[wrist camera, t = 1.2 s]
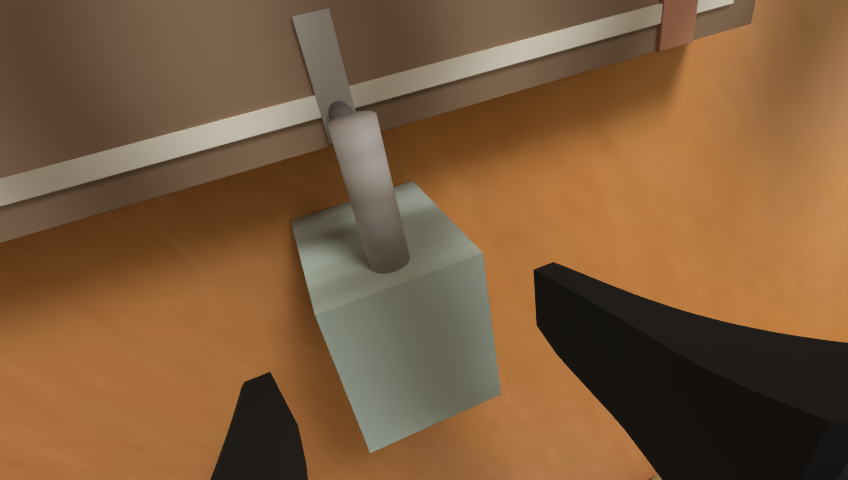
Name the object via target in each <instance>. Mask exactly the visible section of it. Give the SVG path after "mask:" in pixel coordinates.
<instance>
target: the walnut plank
mask: <svg viewBox="0 0 848 480" xmlns="http://www.w3.org/2000/svg"><path fill="white" fill-rule="evenodd" d="M754 5H755V0H0V243H1V242H5V241H8V240H12V239H15V238H18V237H22V236H25V235H29V234H32V233H35V232H39V231H42V230H46V229H49V228H53V227H56V226H59V225H63V224H66V223H70V222H73V221H77V220H80V219H83V218H87V217H90V216H94V215H97V214H100V213H104V212H107V211H111V210H114V209H118V208H121V207H124V206H128V205H131V204H135V203H138V202H141V201H145V200H148V199H152V198H155V197H159V196H162V195H165V194H169V193H172V192H176V191H179V190H183V189H186V188H189V187H193V186H196V185H200V184H203V183H206V182H210V181H213V180H217V179H220V178H224V177H227V176H230V175H234V174H237V173H241V172H244V171H248V170H251V169H254V168H258V167H261V166H265V165H268V164H271V163H275V162H278V161H282V160H285V159H289V158H292V157H295V156H299V155H302V154H306V153H309V152H312V151H316V150H319V149H323V148H326V147H330V146H333V142H332V139H331V135H330V132H329V129H328V123H329V122H330V121H331V119H330V117H329V114H328V110H329V107H330V105H331V104H332V103H334V102H336V101H342V102H344V103H346V104H347V105H348V106H349V107H350V108H351V109H352V110H353V111H354V112H359V111H372V112H375V113H376V114H377V119H378V123H379V127H380V131H384V130H388V129H391V128H395V127H398V126H401V125H405V124H408V123H412V122H415V121H418V120H422V119H425V118H429V117H432V116H436V115H439V114H442V113H446V112H449V111H453V110H456V109H460V108H463V107H466V106H470V105H473V104H477V103H480V102H483V101H487V100H490V99H494V98H497V97H501V96H504V95H507V94H511V93H514V92H518V91H521V90H524V89H528V88H531V87H535V86H538V85H542V84H545V83H548V82H552V81H555V80H559V79H562V78H566V77H569V76H572V75H576V74H579V73H583V72H586V71H589V70H593V69H596V68H600V67H603V66H607V65H610V64H613V63H617V62H620V61H624V60H627V59H631V58H634V57H637V56H641V55H644V54H648V53H651V52H654V51H659V52H660V51H663V50H667V49H670V48H674V47H677V46H680V45H684V44H687V43H691V42H693V40H695V39H699V38H702V37H706V36H709V35H713V34H716V33H719V32H723V31H726V30H730V29H733V28H737V27H740V26H743V25H747V24H750V23H751V20H752V15H753V10H754Z"/></svg>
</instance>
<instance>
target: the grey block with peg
mask: <svg viewBox="0 0 848 480" xmlns="http://www.w3.org/2000/svg"><path fill="white" fill-rule="evenodd" d="M328 114H329V117H330V119H331V121H330V122H329V123H328V129H329V132H330V135H331V139H332V142H333V146H334V149H335V152H336V156H337V159H338V162H339V166H340V169H341V173H342V176H343V179H344V183H345V186H346V190H347V193H348V196H349V200H350V201H349V202H346V203H342V204H339V205H336V206H333V207H330V208H327V209H324V210H321V211H318V212H314V213H311V214H308V215H305V216H302V217H299V218H296V219H293V220H290V221H291V225H292V228H293V232H294V236H295V240H296V244H297V248H298V252H299V256H300V260H301V263H302V267H303V271H304V275H305V279H306V283H307V287H308V291H309V294H310V298H311V302H312V306H313V310H314V314H315V317H316V319H317V322H318V324H319V327H320V329H321V332H322V334H323V337H324V339H325V342H326V344H327V347H328V349H329V352H330V354H331V357H332V359H333V362H334V364H335V367H336V369H337V372H338V374H339V377H340V379H341V382H342V384H343V387H344V389H345V391H346V394H347V396H348V399H349V401H350V404H351V406H352V409H353V411H354V414H355V416H356V419H357V421H358V424H359V426H360V429H361V431H362V434H363V436H364V439H365V441H366V444H367V446H368V449H369V451H370V453H372V452H374V451H376V450H378V449H381V448H383V447H385V446H387V445H390V444H392V443H394V442H396V441H398V440H401V439H403V438H405V437H407V436H410V435H412V434H414V433H416V432H418V431H421V430H423V429H425V428H427V427H429V426H432V425H434V424H436V423H438V422H441V421H443V420H445V419H447V418H449V417H452V416H454V415H456V414H458V413H461V412H463V411H465V410H467V409H469V408H472V407H474V406H476V405H478V404H481V403H483V402H485V401H487V400H489V399H492V398H494V397H496V396H498V395H500V394H501V390H500V383H499V375H498V367H497V360H496V352H495V344H494V336H493V329H492V321H491V313H490V306H489V298H488V290H487V282H486V275H485V267H484V259H483V253H482V252H481V251H480V250H479V249H478V248H477V247H476V246H475V244H474V243H473V242H472V241H471V240H470V239H469V238H468V237H467V236H466V235H465V234H464V233H463V232H462V231H461V230H460V229H459V228H458V227H457V226H456V225H455V224H454V223H453V222H452V221H451V220H450V219H449V218H448V217H447V216H446V215H445V214H444V213H443V212H442V210H441V209H440V208H439V207H438V206H437V205H436V204H435V203H434V202H433V201H432V200H431V199H430V198H429V197H428V196H427V195H426V194H425V193H424V192H423V191H422V190H421V189H420V188H419V187H418V186H417V185H416V184H415V183H414V182H413V181H411V182H408V183H404V184H401V185H398V186H395V187H393V183H392V178H391V174H390V170H389V166H388V161H387V157H386V153H385V149H384V144H383V140H382V136H381V131H380V127H379V123H378V119H377V114H376V113H375V112H372V111H359V112H354V111H353V110H352V109H351V108H350V107H349V106H348V105H347V104H346V103H344V102H342V101H336V102H334V103H332V104H331V105H330V107H329V110H328Z"/></svg>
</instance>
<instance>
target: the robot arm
mask: <svg viewBox="0 0 848 480" xmlns="http://www.w3.org/2000/svg"><path fill="white" fill-rule="evenodd" d="M534 285H535V303H536V322H537V326H538V328H539V329H540V331H541V332H542V334H543V335H544V337H545V338H546V340H547V341H548V343H549V344H550V345H551V347H552V348H553V349H554V351H555V352H556V354H557V355H558V356H559V357H560V358H561V359H562V361H563V362H564V363H565V364H566V365H567V366H568V367H569V368H570V370H571V371H572V372H573V373H574V374H575V375H576V376H577V377H578V378H579V379H580V381H581V382H582V383H583V384H584V385H585V386H586V387H587V388H588V389H589V390H590V391H591V393H592V394H593V395H594V396H595V397H596V398H597V399H598V400H599V401H600V402H601V403H602V405H603V406H604V407H605V408H606V409H607V410H608V411H609V412H610V413H611V414H612V415H613V416H614V418H615V419H616V420H617V421H618V422H619V424H620V425H621V426H622V427H623V428H624V429H625V431H626V432H627V433H628V434H629V436H630V437H631V438H632V440H633V441H634V442H635V444H636V445H637V446H638V448H639V449H640V450H641V452H642V453H643V454H644V456H645V457H646V458H647V460H648V461H649V462H650V464H651V465H652V466H653V468H654V469H655V471H656V472H657V473H658V475H659V476H660V478H661V479H662V480H848V343H844V342H836V341H828V340H821V339H814V338H807V337H800V336H793V335H788V334H782V333H776V332H770V331H765V330H760V329H755V328H750V327H746V326H741V325H736V324H732V323H727V322H723V321H719V320H715V319H712V318H708V317H704V316H700V315H697V314H693V313H689V312H686V311H683V310H679V309H676V308H673V307H670V306H667V305H664V304H661V303H658V302H655V301H652V300H649V299H646V298H643V297H640V296H638V295H635V294H632V293H630V292H627V291H624V290H622V289H619V288H617V287H614V286H611V285H609V284H606V283H604V282H601V281H599V280H597V279H594V278H592V277H589V276H587V275H584V274H582V273H579V272H577V271H575V270H572V269H570V268H567V267H565V266H562V265H559V264H557V263H554V262H552V263H550V264H547V265H545V266H542V267H540V268H537V269H534ZM210 480H308V477H307V467H306V461H305V456H304V451H303V447H302V442H301V438H300V433H299V428H298V425H297V423H296V421H295V419H294V417H293V415H292V413H291V411H290V409H289V407H288V405H287V403H286V402H285V400H284V398H283V396H282V394H281V392H280V390H279V388H278V386H277V384H276V382H275V380H274V378H273V376H272V375H271V373H270V372H269V373H266V374H264V375H261V376H259V377H256V378H254V379H251V380H248V381H246V382H244V384H243V386H242V388H241V391H240V395H239V398H238V402H237V405H236V408H235V412H234V415H233V418H232V421H231V424H230V427H229V430H228V433H227V436H226V439H225V442H224V445H223V447H222V450H221V453H220V456H219V458H218V461H217V464H216V467H215V469H214V472H213V474H212V477H211V479H210Z"/></svg>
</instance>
